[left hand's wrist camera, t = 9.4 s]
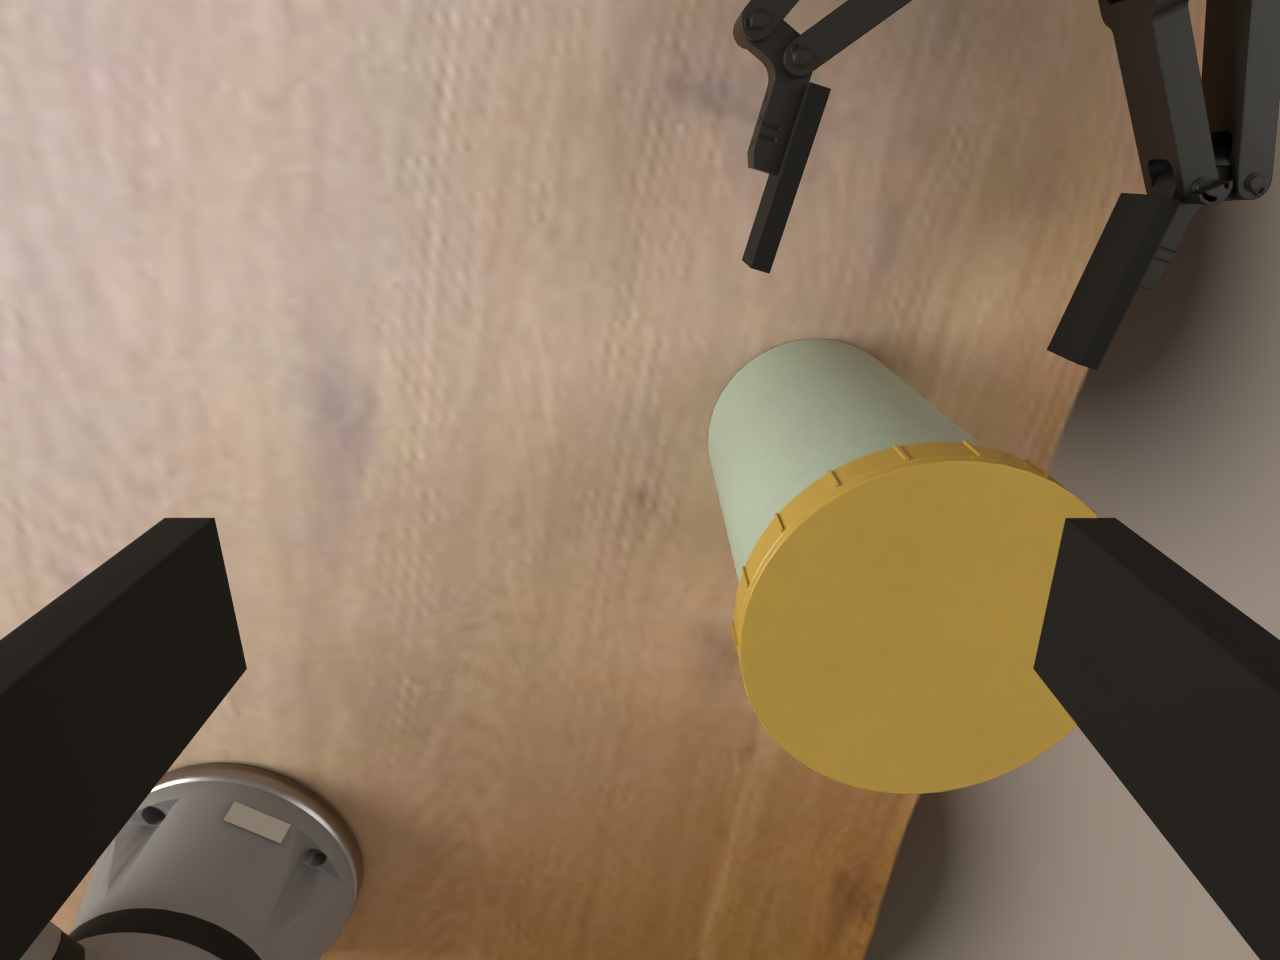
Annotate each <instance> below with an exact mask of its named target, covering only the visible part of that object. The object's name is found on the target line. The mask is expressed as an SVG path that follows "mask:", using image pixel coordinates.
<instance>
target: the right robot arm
mask: <svg viewBox="0 0 1280 960" xmlns="http://www.w3.org/2000/svg"><path fill="white" fill-rule="evenodd" d="M798 1H799V0H751V1H750V2H749V3H748V4H747V6H746V7H745V8H744V10H743V11H742V13H741V14H740V16H739V17H738V19H737V21H736V23H735V24H734V29H733V34H734V39H735V41H736V42H737V44H738V45H739V46H740V47H742V48H744V49H747V50H748V51H750V52H751V53H752V54H753V55H754V56H756V57H757V58H758V59H759V60H760V61H761V62H762V63H763V64H764V65H765V67H766V69H767V72H768V77H769V82H768V87H767V90H766V94H765V97H764V100H763V103H762V107H761V110H760V113H759V116H758V120H757V123H756V126H755V129H754V133H753V136H752V139H751V143H750V146H749V149H748V167H749V168H752V169H755V170H758V171H762V172H765V173H768V174H769V177H768V180H767V183H766V186H765V190H764V193H763V196H762V199H761V202H760V205H759V208H758V211H757V215H756V218H755V221H754V224H753V227H752V230H751V233H750V236H749V240H748V243H747V246H746V249H745V252H744V255H743V258H742V260H743V261H744V262H745V263H746V264H747V265H748V266H749V267H750V268H753V269H756V270H759V271H763V272H766V273H770V270H771V267H772V264H773V261H774V258H775V255H776V252H777V249H778V246H779V243H780V240H781V237H782V234H783V231H784V228H785V225H786V222H787V219H788V216H789V213H790V210H791V207H792V204H793V201H794V198H795V195H796V192H797V189H798V186H799V183H800V180H801V177H802V174H803V171H804V168H805V165H806V162H807V159H808V156H809V153H810V150H811V147H812V144H813V141H814V138H815V135H816V132H817V129H818V126H819V123H820V120H821V117H822V114H823V111H824V108H825V105H826V102H827V99H828V96H829V93H830V90H831V89H829V88H826V87H823V86H820V85H817V84H814V83H809V81H810V78H811V75H812V71H814V70H815V69H817V68H818V67H819V66H821V65H822V64H824V63H825V62H826V61H828V60H829V59H831V58H832V57H833V56H835V55H836V54H838V53H839V52H840V51H842V50H843V49H845V48H846V47H847V46H849V45H850V44H851V43H853V42H854V41H856V40H857V39H858V38H860V37H861V36H863V35H864V34H865V33H867V32H868V31H870V30H871V29H872V28H874V27H875V26H877V25H878V24H879V23H881V22H882V21H884V20H885V19H886V18H888V17H889V16H891V15H892V14H893V13H895V12H896V11H898V10H899V9H900V8H902V7H903V6H905V5H906V4H907V3H909V2H910V1H912V0H848V1H846V2H845V3H844V4H842V5H841V6H840V7H838V8H837V9H836V10H834V11H833V12H831V13H830V14H829V15H827V16H826V17H825V18H823V19H822V20H820V21H819V22H818V23H816V24H815V25H814V26H812V27H811V28H809V29H808V30H807V31H805V32H804V33H803V34H801V35H800V34H799V33H798V32H797V31H795V30H794V29H793V28H792V27H791V26H790V25H788V24H787V23H786V22H785V21H784V20H783V19H784V17H785V16H786V15H787V14H788V13H789V12H790V10H791V9H792V8H793V7H794V6H795V5H796V3H797V2H798ZM1098 1H1099V6H1100V11H1101V15H1102V19H1103V21H1104V23H1105V25H1106V26H1108V27H1109V28H1110V29H1111V30H1112V32H1113V35H1114V40H1115V45H1116V50H1117V54H1118V59H1119V64H1120V69H1121V73H1122V78H1123V83H1124V88H1125V92H1126V97H1127V102H1128V107H1129V112H1130V116H1131V121H1132V126H1133V131H1134V135H1135V140H1136V145H1137V150H1138V155H1139V159H1140V164H1141V169H1142V174H1143V178H1144V183H1145V188H1146V192H1147V194H1148V195H1145V194H1128V193H1121V195H1120V197H1119V199H1118V201H1117V203H1116V205H1115V207H1114V209H1113V212H1112V214H1111V216H1110V218H1109V220H1108V222H1107V224H1106V226H1105V228H1104V230H1103V233H1102V235H1101V237H1100V239H1099V241H1098V243H1097V245H1096V247H1095V249H1094V252H1093V254H1092V256H1091V258H1090V260H1089V262H1088V264H1087V266H1086V268H1085V270H1084V273H1083V275H1082V277H1081V279H1080V281H1079V283H1078V285H1077V287H1076V289H1075V292H1074V294H1073V296H1072V298H1071V300H1070V302H1069V304H1068V306H1067V308H1066V311H1065V313H1064V315H1063V317H1062V319H1061V321H1060V323H1059V325H1058V327H1057V329H1056V332H1055V334H1054V336H1053V338H1052V340H1051V342H1050V344H1049V346H1048V348H1047V350H1048V351H1051V352H1053V353H1055V354H1057V355H1059V356H1061V357H1064V358H1066V359H1068V360H1070V361H1072V362H1075V363H1077V364H1079V365H1082V366H1085V367H1089V368H1092V369H1096V370H1097V368H1098V366H1099V364H1100V362H1101V360H1102V358H1103V356H1104V354H1105V352H1106V350H1107V348H1108V346H1109V344H1110V342H1111V340H1112V338H1113V336H1114V334H1115V332H1116V330H1117V328H1118V326H1119V324H1120V322H1121V320H1122V318H1123V316H1124V314H1125V312H1126V311H1127V309H1128V307H1129V305H1130V303H1131V300H1132V299H1133V297H1134V295H1135V293H1136V291H1137V289H1138V287H1141V288H1145V289H1149V290H1152V289H1153V288H1154V287H1155V286H1156V285H1157V284H1158V283H1159V282H1160V281H1161V280H1162V278H1163V276H1164V275H1165V273H1166V270H1167V269H1168V267H1169V263H1170V262H1171V261H1172V259H1173V257H1174V255H1175V254H1174V253H1175V252H1176V251H1177V249H1178V247H1179V245H1180V243H1181V241H1182V239H1183V237H1184V235H1185V233H1186V232H1187V230H1188V228H1189V226H1190V224H1191V222H1192V220H1193V218H1194V216H1195V215H1196V213H1197V212H1198V211H1199V210H1200V209H1201V208H1202V207H1204V206H1205V205H1215V204H1219V203H1220V202H1222V201H1230V200H1254V199H1257V198H1259V197H1261V196H1262V195H1263V194H1265V193H1266V192H1267V190H1268V189H1269V187H1270V185H1271V181H1272V173H1273V163H1274V152H1275V141H1276V131H1277V120H1278V110H1279V99H1280V0H1207V1H1206V17H1205V33H1204V49H1203V65H1202V82H1201V77H1200V72H1199V66H1198V60H1197V55H1196V49H1195V44H1194V38H1193V32H1192V27H1191V21H1190V15H1189V10H1188V1H1189V0H1098Z"/></svg>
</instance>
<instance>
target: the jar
mask: <svg viewBox="0 0 1280 960" xmlns="http://www.w3.org/2000/svg"><path fill="white" fill-rule="evenodd" d="M964 440H965V441H968V442H969V443H970V444H972V445H980V446H982V445H981V444H979V443H978V442H977V441H976V440H975V439H973V438H972V437H971V436H970V435H969V434H967V433H966V432H965V431H964V430H962V429H961V428H960V427H959V426H958V425H956V424H955V423H954V422H953V421H952V420H950V419H949V418H948V417H947V416H946V415H944V414H943V413H942V412H941V411H939V410H938V409H937V408H936V407H935V406H933V405H932V404H931V403H930V402H929V401H927V400H926V399H925V398H924V397H922V396H921V395H920V394H919V393H918V392H916V391H915V390H914V389H913V388H912V387H910V386H909V385H908V384H907V383H905V382H904V381H903V380H902V379H901V378H899V377H898V376H897V375H896V374H895V373H893V372H892V371H891V370H890V369H888V368H887V367H886V366H885V365H884V364H882V363H881V362H880V361H879V360H878V359H876V358H875V357H874V356H872V355H871V354H869V353H867V352H866V351H864V350H862V349H860V348H858V347H855V346H853V345H850V344H847V343H843V342H840V341H834V340H827V339H807V340H799V341H794V342H790V343H786V344H783V345H780V346H778V347H775V348H772V349H770V350H768V351H766V352H764V353H763V354H761V355H759V356H757V357H756V358H755V359H753V360H752V361H750V362H749V363H748V364H746V365H745V366H744V367H743V368H742V369H741V370H740V371H739V372H738V373H737V374H736V375H735V376H734V377H733V378H732V380H731V381H730V382H729V383H728V384H727V386H726V388H725V389H724V391H723V392H722V394H721V395H720V397H719V400H718V402H717V404H716V406H715V408H714V411H713V415H712V418H711V422H710V427H709V436H708V448H709V457H710V462H711V466H712V470H713V474H714V479H715V483H716V487H717V492H718V496H719V500H720V504H721V509H722V513H723V517H724V521H725V526H726V530H727V534H728V538H729V543H730V547H731V551H732V555H733V560H734V564H735V568H736V572H737V577H738V581H739V582H740V579H741V576H742V570H741V568H742V566H745V565H746V562H747V560H748V558H749V556H750V554H751V552H752V551H753V549H754V547H755V545H756V543H757V541H758V540H759V538H760V537H761V535H762V534H763V533H764V531H765V530H766V528H767V527H768V525H769V524H770V523H771V521H772V520H773V519H774V518H775V517H774V514H775V513H778V514H779V513H780V512H781V510H782V509H783V508H784V507H785V506H786V505H787V504H788V503H789V502H790V501H791V500H792V499H794V498H795V497H796V496H797V495H798V494H800V493H801V492H802V491H803V490H804V489H805V488H807V487H808V486H809V485H811V484H812V483H814V482H815V481H817V480H818V479H820V478H821V477H823V476H824V475H826V474H827V471H828V470H829V469H830V470H831V471H833V470H835V469H837V468H839V467H841V466H843V465H845V464H847V463H849V462H851V461H853V460H855V459H858V458H861V457H863V456H866V455H868V454H872V453H874V452H877V451H881V450H885V449H890V448H893V445H894V444H897V445H898V446H902V445H909V444H918V443H927V442H957V443H963V441H964Z"/></svg>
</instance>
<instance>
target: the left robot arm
mask: <svg viewBox="0 0 1280 960" xmlns="http://www.w3.org/2000/svg"><path fill="white" fill-rule="evenodd" d="M246 669H247V667H246V663H245V658H244V653H243V649H242V644H241V639H240V635H239V630H238V625H237V621H236V616H235V611H234V607H233V602H232V597H231V593H230V588H229V583H228V579H227V574H226V569H225V565H224V560H223V555H222V551H221V546H220V541H219V537H218V532H217V527H216V523H215V518H164V519H163V520H161V521H160V522H159V523H157V524H156V525H155V526H153V527H152V528H151V529H149V530H148V531H147V532H145V533H144V534H143V535H141V536H140V537H139V538H137V539H136V540H135V541H133V542H132V543H130V544H129V545H128V546H126V547H125V548H124V549H122V550H121V551H120V552H118V553H117V554H116V555H114V556H113V557H112V558H110V559H109V560H108V561H106V562H105V563H104V564H102V565H101V566H100V567H98V568H97V569H95V570H94V571H93V572H91V573H90V574H89V575H87V576H86V577H85V578H83V579H82V580H81V581H79V582H78V583H77V584H75V585H74V586H73V587H71V588H70V589H69V590H67V591H66V592H65V593H63V594H62V595H60V596H59V597H58V598H56V599H55V600H54V601H52V602H51V603H50V604H48V605H47V606H46V607H44V608H43V609H42V610H40V611H39V612H38V613H36V614H35V615H34V616H32V617H31V618H30V619H28V620H27V621H25V622H24V623H23V624H21V625H20V626H19V627H17V628H16V629H15V630H13V631H12V632H11V633H9V634H8V635H7V636H5V637H4V638H3V639H1V640H0V960H319V959H320V958H321V957H322V955H323V954H324V953H325V952H326V951H327V949H328V948H329V947H330V946H331V945H332V943H333V942H334V941H335V940H336V938H337V937H338V936H339V934H340V932H341V931H342V929H343V927H344V926H345V925H346V923H347V921H348V919H349V917H350V915H351V913H352V910H353V908H354V905H355V902H356V900H357V897H358V895H359V892H360V889H361V885H362V879H363V863H362V857H361V853H360V849H359V846H358V844H357V841H356V839H355V837H354V835H353V833H352V832H351V830H350V828H349V827H348V825H347V824H346V823H345V821H344V820H343V819H342V817H341V816H340V815H339V814H338V813H337V812H336V811H335V810H334V809H333V808H332V807H331V806H330V805H329V804H328V803H327V802H326V801H324V800H323V799H322V798H321V797H319V796H318V795H317V794H315V793H314V792H312V791H311V790H309V789H308V788H306V787H304V786H302V785H301V784H299V783H297V782H295V781H293V780H291V779H289V778H286V777H284V776H281V775H279V774H276V773H273V772H270V771H267V770H263V769H259V768H255V767H251V766H245V765H238V764H226V763H210V764H199V765H193V766H187V767H183V768H179V769H176V770H173V771H170V772H168V773H166V772H167V770H168V769H169V768H170V767H171V765H172V764H173V763H174V761H175V760H176V759H177V758H178V756H179V755H180V754H181V752H182V751H183V750H184V749H185V747H186V746H187V745H188V743H189V742H190V741H191V740H192V738H193V737H194V736H195V734H196V733H197V732H198V731H199V729H200V728H201V727H202V726H203V724H204V723H205V722H206V720H207V719H208V718H209V717H210V715H211V714H212V713H213V711H214V710H215V709H216V708H217V706H218V705H219V704H220V702H221V701H222V700H223V699H224V697H225V696H226V695H227V693H228V692H229V691H230V690H231V688H232V687H233V686H234V685H235V683H236V682H237V681H238V679H239V678H240V677H241V676H242V674H243V673H244V672H245V670H246ZM1033 669H1034V670H1035V672H1036V673H1037V674H1038V676H1039V677H1040V678H1041V679H1042V681H1043V682H1044V683H1045V685H1046V686H1047V687H1048V688H1049V690H1050V691H1051V692H1052V693H1053V695H1054V696H1055V697H1056V699H1057V700H1058V701H1059V702H1060V704H1061V705H1062V706H1063V708H1064V709H1065V710H1066V711H1067V713H1068V714H1069V715H1070V717H1071V718H1072V719H1073V720H1074V722H1075V723H1076V724H1077V726H1078V727H1079V728H1080V729H1081V731H1082V732H1083V733H1084V734H1085V736H1086V737H1087V738H1088V740H1089V741H1090V742H1091V743H1092V745H1093V746H1094V747H1095V749H1096V750H1097V751H1098V752H1099V754H1100V755H1101V756H1102V758H1103V759H1104V760H1105V761H1106V763H1107V764H1108V765H1109V767H1110V768H1111V769H1112V770H1113V772H1114V773H1115V774H1116V775H1117V777H1118V778H1119V779H1120V781H1121V782H1122V783H1123V784H1124V786H1125V787H1126V788H1127V790H1128V791H1129V792H1130V793H1131V795H1132V796H1133V797H1134V799H1135V800H1136V801H1137V802H1138V804H1139V805H1140V806H1141V808H1142V809H1143V810H1144V811H1145V813H1146V814H1147V815H1148V816H1149V818H1150V819H1151V820H1152V822H1153V823H1154V824H1155V825H1156V827H1157V828H1158V829H1159V831H1160V832H1161V833H1162V834H1163V836H1164V837H1165V838H1166V840H1167V841H1168V842H1169V843H1170V845H1171V846H1172V847H1173V848H1174V850H1175V851H1176V852H1177V854H1178V855H1179V856H1180V857H1181V859H1182V860H1183V861H1184V863H1185V864H1186V865H1187V866H1188V868H1189V869H1190V870H1191V872H1192V873H1193V874H1194V875H1195V877H1196V878H1197V879H1198V881H1199V882H1200V883H1201V884H1202V886H1203V887H1204V888H1205V890H1206V891H1207V892H1208V893H1209V895H1210V896H1211V897H1212V898H1213V900H1214V901H1215V902H1216V904H1217V905H1218V906H1219V907H1220V909H1221V910H1222V911H1223V913H1224V914H1225V915H1226V916H1227V918H1228V919H1229V920H1230V922H1231V923H1232V924H1233V925H1234V927H1235V928H1236V929H1237V931H1238V932H1239V933H1240V934H1241V936H1242V937H1243V938H1244V939H1245V941H1246V942H1247V943H1248V945H1249V946H1250V947H1251V948H1252V950H1253V951H1254V952H1255V954H1256V955H1257V956H1258V957H1259V959H1260V960H1280V640H1279V639H1277V638H1276V637H1275V636H1273V635H1272V634H1271V633H1269V632H1268V631H1267V630H1265V629H1264V628H1263V627H1261V626H1260V625H1259V624H1257V623H1256V622H1254V621H1253V620H1252V619H1250V618H1249V617H1248V616H1246V615H1245V614H1244V613H1242V612H1241V611H1240V610H1238V609H1237V608H1236V607H1234V606H1233V605H1232V604H1230V603H1229V602H1228V601H1226V600H1225V599H1224V598H1222V597H1221V596H1219V595H1218V594H1217V593H1215V592H1214V591H1213V590H1211V589H1210V588H1209V587H1207V586H1206V585H1205V584H1203V583H1202V582H1201V581H1199V580H1198V579H1197V578H1195V577H1194V576H1193V575H1191V574H1190V573H1189V572H1187V571H1186V570H1184V569H1183V568H1182V567H1180V566H1179V565H1178V564H1176V563H1175V562H1174V561H1172V560H1171V559H1170V558H1168V557H1167V556H1166V555H1164V554H1163V553H1162V552H1160V551H1159V550H1158V549H1156V548H1155V547H1154V546H1152V545H1151V544H1150V543H1148V542H1147V541H1145V540H1144V539H1143V538H1141V537H1140V536H1139V535H1137V534H1136V533H1135V532H1133V531H1132V530H1131V529H1129V528H1128V527H1127V526H1125V525H1124V524H1123V523H1121V522H1120V521H1119V520H1117V519H1116V518H1065V523H1064V527H1063V532H1062V537H1061V541H1060V546H1059V551H1058V555H1057V560H1056V565H1055V569H1054V574H1053V579H1052V583H1051V588H1050V593H1049V597H1048V602H1047V607H1046V611H1045V616H1044V621H1043V625H1042V630H1041V635H1040V639H1039V644H1038V649H1037V653H1036V658H1035V663H1034V667H1033ZM94 864H95V866H94V869H93V872H92V875H91V878H90V881H89V884H88V887H87V889H86V892H85V895H84V898H83V901H82V904H81V907H80V910H79V913H78V916H77V919H76V922H75V924H74V927H73V929H72V931H71V932H70V934H69V935H67V934H65V933H64V932H63V931H61V929H59V928H58V927H57V926H56V925H54V924H53V923H51V922H50V920H51V919H52V918H53V916H54V915H55V914H56V913H57V911H58V910H59V909H60V907H61V906H62V905H63V904H64V902H65V901H66V900H67V898H68V897H69V896H70V895H71V893H72V892H73V891H74V890H75V888H76V887H77V886H78V884H79V883H80V882H81V881H82V879H83V878H84V877H85V875H86V874H87V873H88V872H89V870H90V869H91V868H92V866H93V865H94Z"/></svg>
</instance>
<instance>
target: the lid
mask: <svg viewBox="0 0 1280 960" xmlns="http://www.w3.org/2000/svg"><path fill="white" fill-rule="evenodd" d="M774 517H775V518H774V519H773V520H772V521H771V523H770V524H769V525H768V527H767V528H766V530H765V531H764V533H763V534H762V535H761V537H760V538H759V540H758V541H757V543H756V545H755V547H754V549H753V551H752V552H751V554H750V556H749V558H748V560H747V562H746V565H745V566H742V568H741V570H742V576H741V579H740V582H739V586H738V591H737V596H736V600H735V611H734V622H731V626H732V631H733V637H734V642H735V645H736V648H737V653H738V658H739V663H740V668H741V673H742V677H743V681H744V685H745V690H746V695H747V698H749V700H750V702H751V704H752V707H753V709H754V711H755V713H756V714H757V716H758V718H759V719H760V721H761V722H762V724H763V726H764V727H765V729H766V730H767V731H768V732H769V733H770V734H771V736H772V737H773V738H774V739H775V740H776V742H777V743H778V744H779V745H780V746H781V747H783V748H784V749H785V750H786V751H787V752H788V753H789V754H791V755H792V756H793V757H794V758H795V759H797V760H798V761H800V762H801V763H803V764H804V765H806V766H807V767H809V768H810V769H812V770H814V771H816V772H818V773H820V774H822V775H824V776H826V777H828V778H830V779H833V780H836V781H838V782H841V783H844V784H847V785H850V786H853V787H858V788H862V789H867V790H871V791H877V792H886V793H895V794H923V793H933V792H943V791H948V790H954V789H959V788H963V787H968V786H971V785H975V784H978V783H981V782H985V781H988V780H991V779H993V778H996V777H998V776H1000V775H1003V774H1005V773H1008V772H1010V771H1012V770H1014V769H1016V768H1018V767H1020V766H1022V765H1024V764H1026V763H1027V762H1029V761H1031V760H1033V759H1035V758H1036V757H1038V756H1039V755H1041V754H1042V753H1044V752H1045V751H1047V750H1048V749H1050V748H1051V747H1053V746H1054V745H1055V744H1056V743H1058V742H1059V741H1060V740H1061V739H1062V738H1064V737H1065V736H1066V735H1067V734H1068V733H1070V732H1071V731H1072V730H1073V729H1074V728H1075V727H1076V726H1077V724H1076V723H1075V722H1074V720H1073V719H1072V718H1071V717H1070V715H1069V714H1068V713H1067V711H1066V710H1065V709H1064V708H1063V706H1062V705H1061V704H1060V702H1059V701H1058V700H1057V699H1056V697H1055V696H1054V695H1053V693H1052V692H1051V691H1050V690H1049V688H1048V687H1047V686H1046V685H1045V683H1044V682H1043V681H1042V679H1041V678H1040V677H1039V676H1038V674H1037V673H1036V672H1035V670H1034V669H1033V667H1034V663H1035V658H1036V653H1037V649H1038V644H1039V639H1040V635H1041V630H1042V625H1043V621H1044V616H1045V611H1046V607H1047V602H1048V597H1049V593H1050V588H1051V583H1052V579H1053V574H1054V569H1055V565H1056V560H1057V555H1058V551H1059V546H1060V541H1061V537H1062V532H1063V527H1064V523H1065V518H1098V517H1097V513H1096V512H1095V511H1094V510H1092V509H1091V508H1090V507H1088V506H1087V505H1086V504H1085V503H1083V502H1082V501H1081V500H1080V499H1079V498H1077V497H1076V496H1075V495H1074V494H1073V493H1071V492H1070V491H1069V490H1067V489H1066V488H1065V487H1064V486H1062V485H1061V484H1060V483H1058V482H1057V481H1056V480H1054V479H1053V478H1052V477H1050V476H1049V475H1048V473H1047V472H1045V471H1044V470H1043V469H1041V468H1040V467H1039V466H1037V465H1036V464H1035V463H1033V462H1032V461H1031V460H1029V459H1027V460H1026V461H1024V460H1022V459H1020V458H1017V457H1015V456H1013V455H1010V454H1008V453H1006V452H1002V451H999V450H995V449H991V448H988V447H984V446H980V445H972V444H970V443H969V442H968V441H965V440H964V441H963V443H957V442H927V443H918V444H909V445H902V446H898V445H897V444H894V445H893V448H890V449H885V450H881V451H877V452H874V453H872V454H868V455H866V456H863V457H861V458H858V459H855V460H853V461H851V462H849V463H847V464H845V465H843V466H841V467H839V468H837V469H835V470H833V471H831V470H830V469H829V470H828V471H827V474H826V475H824V476H823V477H821V478H820V479H818V480H817V481H815V482H814V483H812V484H811V485H809V486H808V487H807V488H805V489H804V490H803V491H802V492H801V493H800V494H798V495H797V496H796V497H795V498H794V499H792V500H791V501H790V502H789V503H788V504H787V505H786V506H785V507H784V508H783V509H782V510H781V512H780V513H779V514H778V513H775V514H774Z"/></svg>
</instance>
